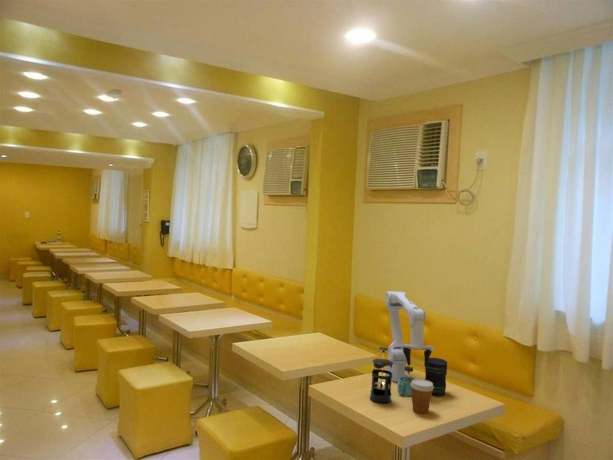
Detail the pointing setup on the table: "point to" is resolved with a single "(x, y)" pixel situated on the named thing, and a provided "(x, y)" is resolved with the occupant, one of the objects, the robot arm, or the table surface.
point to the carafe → (405, 386)
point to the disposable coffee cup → (421, 395)
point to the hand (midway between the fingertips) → (417, 366)
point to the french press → (381, 389)
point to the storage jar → (437, 375)
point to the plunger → (409, 369)
